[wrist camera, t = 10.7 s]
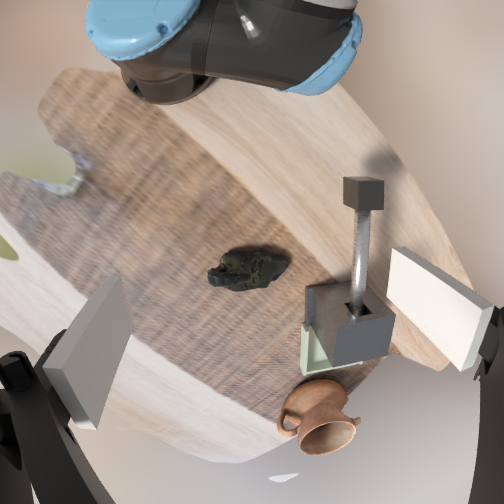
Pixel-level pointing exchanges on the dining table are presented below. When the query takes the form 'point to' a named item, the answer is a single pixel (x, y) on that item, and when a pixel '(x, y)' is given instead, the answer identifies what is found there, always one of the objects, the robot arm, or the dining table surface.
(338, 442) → the ceramic jug
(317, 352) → the tray
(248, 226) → the dining table surface
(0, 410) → the robot arm
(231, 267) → the stone
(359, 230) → the shaft
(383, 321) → the bearing block
